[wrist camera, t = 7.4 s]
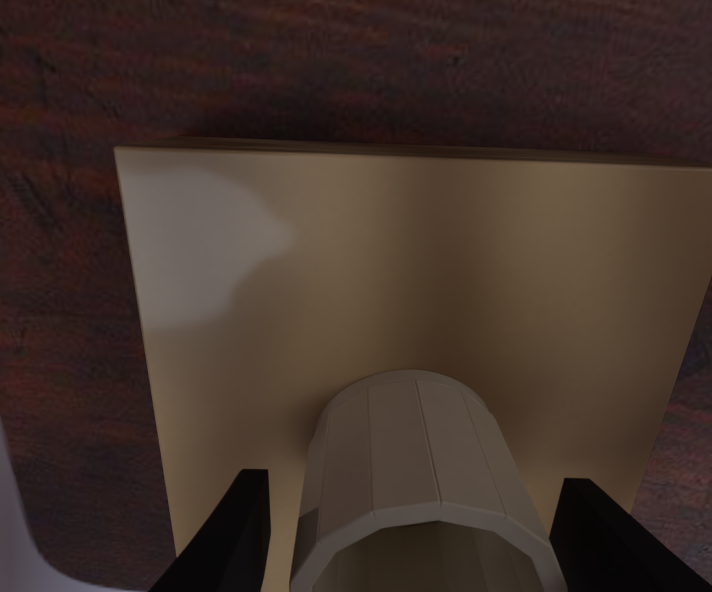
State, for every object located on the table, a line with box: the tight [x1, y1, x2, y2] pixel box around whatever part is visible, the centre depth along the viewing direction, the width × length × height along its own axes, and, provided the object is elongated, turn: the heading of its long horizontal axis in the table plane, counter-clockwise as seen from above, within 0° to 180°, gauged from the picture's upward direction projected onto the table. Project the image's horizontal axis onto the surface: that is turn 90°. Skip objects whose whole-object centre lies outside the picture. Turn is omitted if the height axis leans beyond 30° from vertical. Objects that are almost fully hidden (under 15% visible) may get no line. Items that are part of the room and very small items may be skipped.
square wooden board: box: [114, 136, 712, 592], centre depth 15 cm, size 14×16×4 cm
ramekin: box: [289, 369, 568, 592], centre depth 11 cm, size 5×5×4 cm
